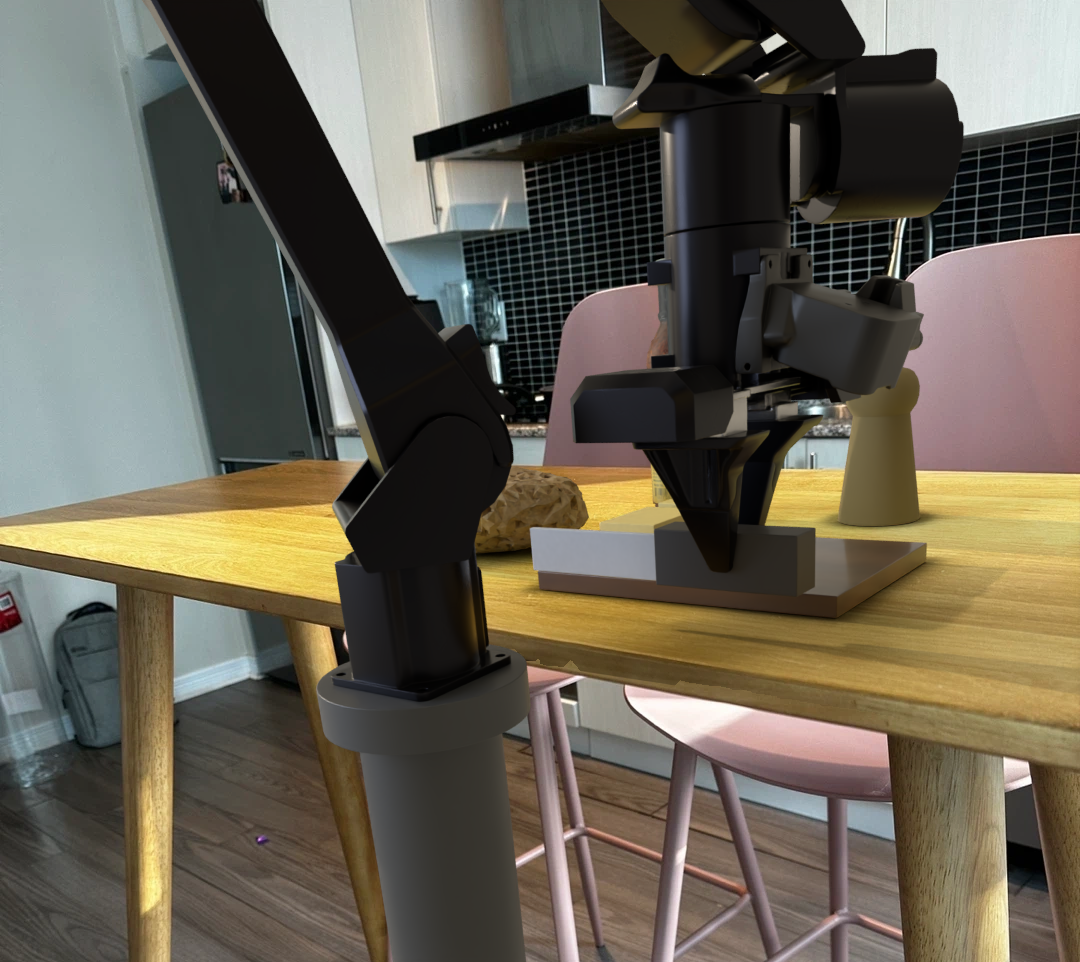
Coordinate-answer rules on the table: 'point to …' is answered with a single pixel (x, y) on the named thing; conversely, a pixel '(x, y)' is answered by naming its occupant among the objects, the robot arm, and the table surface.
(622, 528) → the butter block
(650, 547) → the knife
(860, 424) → the cork
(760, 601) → the cutting board
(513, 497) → the sponge
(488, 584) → the table surface
